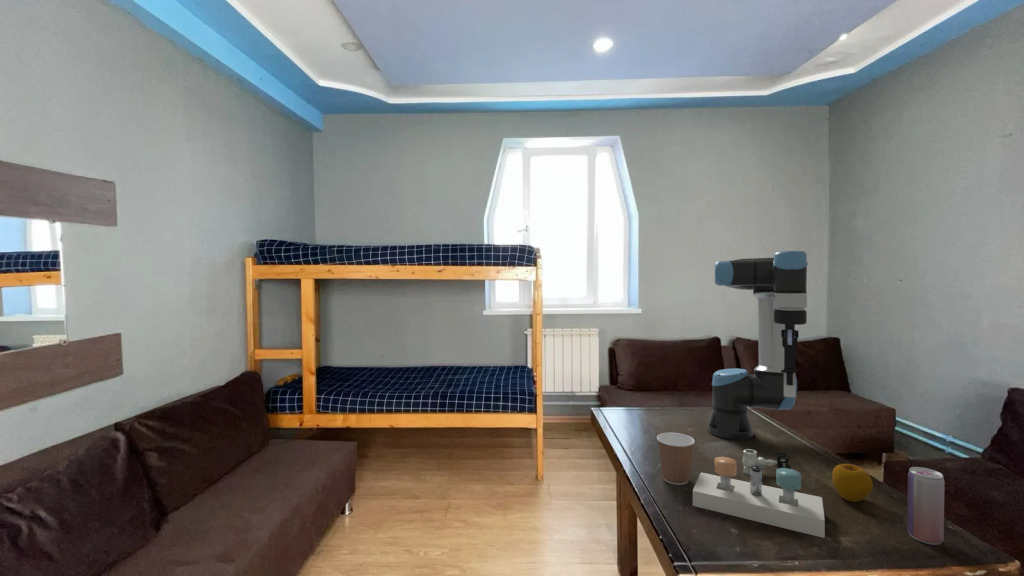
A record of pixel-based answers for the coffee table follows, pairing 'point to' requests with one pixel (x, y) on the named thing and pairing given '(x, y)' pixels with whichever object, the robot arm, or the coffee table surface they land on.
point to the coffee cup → (675, 457)
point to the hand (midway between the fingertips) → (789, 396)
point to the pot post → (756, 481)
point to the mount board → (761, 505)
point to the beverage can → (925, 505)
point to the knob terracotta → (725, 470)
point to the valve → (763, 461)
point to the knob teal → (788, 483)
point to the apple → (851, 482)
